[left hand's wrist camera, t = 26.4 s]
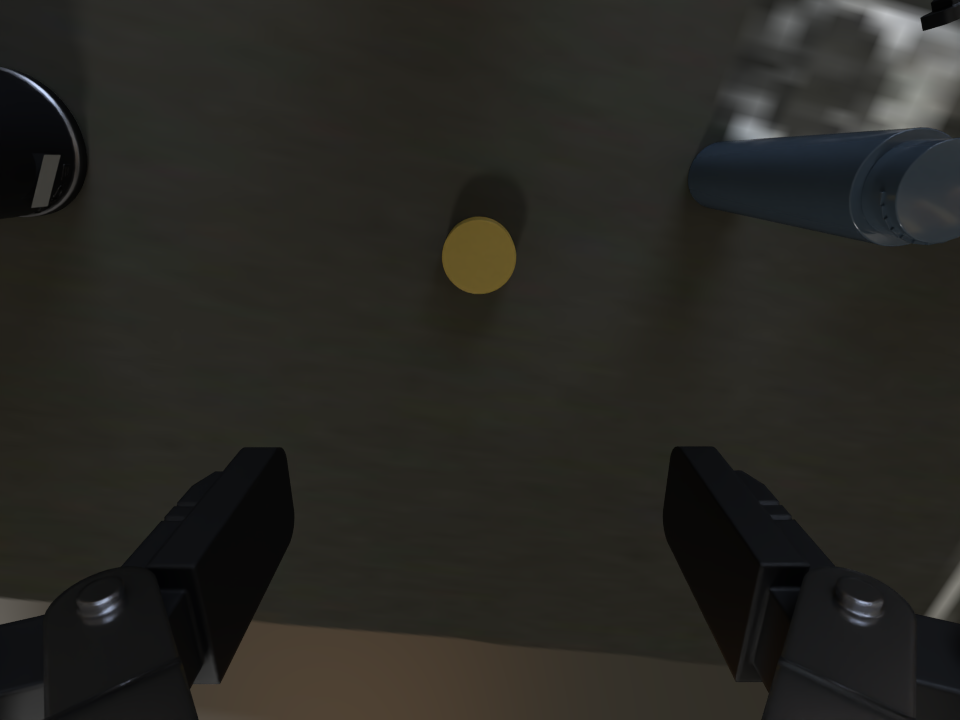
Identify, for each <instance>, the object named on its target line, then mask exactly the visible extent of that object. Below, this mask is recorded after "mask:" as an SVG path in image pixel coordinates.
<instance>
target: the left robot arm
mask: <svg viewBox="0 0 960 720" xmlns="http://www.w3.org/2000/svg"><path fill="white" fill-rule="evenodd" d="M86 168H87V156H86V149H85V144H84V140H83V137H82V134H81V131H80V129H79V127H78V125H77V123H76V121H75V119H74V117H73V116H72V114H71V112H70V111H69V110H68V108H67V107H66V106H65V104H64V103H63V102H62V101H61V100H60V99H59V98H58V96H57V95H56V94H55V93H53V92H52V91H51V90H50V89H49V88H48V87H46V86H45V85H44V84H42V83H41V82H39V81H38V80H36V79H34V78H32V77H31V76H29V75H26V74H24V73H22V72H19V71H16V70H12V69H8V68H3V67H0V219H3V218H11V217H32V216H40V215H46V214H51V213H54V212H57V211H59V210H61V209H63V208H64V207H66V206H67V205H68V204H70V203H71V202H72V201H73V200H74V199H75V197H76V196H77V195H78V193H79V191H80V190H81V187H82V185H83V183H84V179H85V175H86ZM663 526H664V532H665V536H666V539H667V542H668V544H669V546H670V548H671V550H672V552H673V554H674V556H675V558H676V560H677V563H678V565H679V567H680V569H681V571H682V573H683V575H684V577H685V579H686V581H687V583H688V585H689V587H690V589H691V591H692V593H693V595H694V597H695V599H696V601H697V603H698V605H699V608H700V610H701V612H702V614H703V616H704V618H705V620H706V622H707V624H708V626H709V628H710V630H711V632H712V634H713V636H714V638H715V640H716V642H717V644H718V646H719V648H720V650H721V653H722V655H723V657H724V659H725V661H726V663H727V665H728V667H729V669H730V671H731V673H732V675H733V677H734V679H735V681H736V682H763V683H764V685H765V687H766V689H767V691H768V692H769V695H768V699H767V702H766V706H765V709H764V713H763V716H762V719H761V720H960V624H958V623H954V622H949V621H945V620H940V619H936V618H931V617H927V616H922V615H918V614H915V613H914V611H913V609H912V608H911V606H910V605H909V603H908V602H907V601H906V600H905V599H904V598H903V597H902V596H901V595H900V594H898V593H897V592H896V591H895V590H893V589H892V588H890V587H889V586H887V585H886V584H884V583H882V582H881V581H879V580H877V579H875V578H873V577H871V576H868V575H866V574H864V573H861V572H858V571H855V570H851V569H847V568H842V567H835V565H834V564H833V563H832V562H831V561H830V560H829V559H828V557H827V556H826V555H825V554H824V553H823V552H822V550H821V549H820V548H819V547H818V546H817V545H816V544H815V542H814V541H813V540H812V539H811V538H810V537H809V536H808V534H807V533H806V532H805V531H804V530H803V529H802V528H801V526H800V525H799V524H798V523H797V522H796V521H795V520H792V518H791V515H790V514H789V513H788V511H787V510H786V509H785V508H784V507H783V506H782V505H779V501H778V500H777V499H776V498H775V497H774V495H773V494H772V493H771V492H770V491H769V490H768V488H767V487H766V486H765V485H764V484H762V483H761V482H759V481H757V480H756V479H754V478H753V477H751V476H749V475H748V474H746V473H745V472H743V471H734V470H733V469H732V468H731V467H730V465H729V464H728V463H727V462H726V460H725V459H724V458H723V457H722V456H721V454H720V453H719V452H718V451H717V449H716V448H714V447H675V448H674V449H673V451H672V453H671V457H670V464H669V471H668V478H667V486H666V493H665V500H664V508H663ZM293 528H294V507H293V500H292V493H291V486H290V478H289V471H288V464H287V458H286V454H285V451H284V450H283V449H282V448H280V447H245V448H242V449H241V450H240V451H239V452H238V454H237V455H236V456H235V457H234V459H233V460H232V461H231V462H230V463H229V465H228V466H227V467H226V468H225V470H224V471H223V472H214V473H212V474H210V475H209V476H207V477H206V478H204V479H202V480H201V481H199V482H198V483H196V484H195V485H193V486H192V487H191V488H190V489H189V490H188V491H187V492H186V493H185V495H184V496H183V497H182V498H181V499H180V500H179V501H178V503H177V506H174V507H173V508H172V509H171V511H170V512H169V513H168V514H167V515H166V516H165V520H164V521H161V522H160V523H159V524H158V525H157V526H156V528H155V529H154V530H153V531H152V532H151V533H150V534H149V536H148V537H147V538H146V539H145V540H144V541H143V542H142V544H141V545H140V546H139V547H138V548H137V549H136V550H135V552H134V553H133V554H132V555H131V556H130V557H129V558H128V559H127V561H126V562H125V563H124V564H123V565H122V566H121V567H118V568H113V569H109V570H105V571H102V572H99V573H96V574H94V575H92V576H89V577H87V578H85V579H83V580H81V581H79V582H78V583H76V584H74V585H73V586H71V587H70V588H68V589H67V590H65V591H64V592H63V593H62V594H60V595H59V596H58V597H57V598H56V599H55V600H54V601H53V602H52V603H51V605H50V606H49V608H48V609H47V611H46V613H45V615H41V616H37V617H33V618H28V619H24V620H19V621H15V622H10V623H6V624H1V625H0V720H198V716H197V713H196V709H195V706H194V702H193V699H192V695H191V692H190V688H191V686H192V684H220V683H221V681H222V679H223V677H224V675H225V673H226V671H227V669H228V667H229V665H230V663H231V661H232V659H233V657H234V655H235V653H236V651H237V649H238V647H239V645H240V642H241V640H242V638H243V636H244V634H245V632H246V630H247V628H248V626H249V624H250V622H251V620H252V618H253V616H254V614H255V612H256V610H257V608H258V606H259V604H260V602H261V600H262V598H263V596H264V594H265V592H266V590H267V588H268V586H269V584H270V582H271V580H272V578H273V576H274V574H275V572H276V570H277V568H278V566H279V564H280V562H281V560H282V558H283V556H284V554H285V552H286V550H287V547H288V545H289V543H290V541H291V538H292V534H293Z"/></svg>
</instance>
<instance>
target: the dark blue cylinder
mask: <svg viewBox="0 0 960 720" xmlns="http://www.w3.org/2000/svg"><path fill="white" fill-rule="evenodd" d="M688 185H689V190H690V192H691V194H692V196H693V198H694V199H695V200H696V201H697V202H698V203H699V204H701V205H702V206H704V207H707V208H711V209H716V210H721V211H725V212H730V213H734V214H739V215H744V216H748V217H753V218H757V219H762V220H767V221H771V222H776V223H781V224H785V225H790V226H794V227H799V228H804V229H808V230H813V231H817V232H822V233H827V234H831V235H836V236H840V237H845V238H850V239H854V240H859V241H864V242H868V243H873V244H877V245H882V246H902V245H907V244H910V243H913V244H923V245H931V244H937V243H944V242H946V241H949V240H951V239H954V238H958V237H959V236H960V138H951V137H950V136H949V135H947V134H946V133H944V132H942V131H939V130H937V129H932V128H907V129H892V130H878V131H864V132H850V133H835V134H821V135H807V136H792V137H778V138H764V139H750V140H735V141H722V142H717V143H714V144H711V145H709V146H707V147H706V148H704V149H703V150H702V151H701V152H700V153H699V154H698V155H697V156H696V158H695V159H694V161H693V163H692V165H691V167H690V170H689V175H688Z"/></svg>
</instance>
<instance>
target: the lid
mask: <svg viewBox="0 0 960 720" xmlns="http://www.w3.org/2000/svg"><path fill="white" fill-rule="evenodd" d="M442 263H443V267H444V270H445V272H446V274H447V276H448V278H449V279H450V280H451V282H452V283H453V284H454V285H456V286H457V287H458V288H460V289H461V290H463V291H466V292H469V293H473V294H485V293H489V292H492V291H495V290H497V289H498V288H500V287H501V286H503V285H504V284H505V283H506V282H507V281H508V279H509V278H510V277H511V275H512V273H513V270H514V268H515V264H516V251H515V246H514V243H513V241H512V238H511V236H510V234H509V233H508V231H507V230H506V229H505V228H504V227H503V226H502V225H501V224H500V223H498V222H497V221H495V220H493V219H490V218H487V217H471V218H468V219H465V220H463V221H461V222H460V223H458V224H457V225H456V226H455V227H454V228H453V229H452V230H451V231H450V233H449V235H448V237H447V239H446V241H445V244H444V247H443V251H442Z"/></svg>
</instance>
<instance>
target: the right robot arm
mask: <svg viewBox="0 0 960 720" xmlns="http://www.w3.org/2000/svg"><path fill="white" fill-rule="evenodd" d="M931 6H932V12H931V13H929V14H927V15H925V16H923V17H921V23H922V29H923V31H925V30H928V29H932V28H935V27H939V26H942V25H945V24H948V23H950V22H953V21H955V20H957V19H960V0H933V1H932V2H931Z"/></svg>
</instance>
